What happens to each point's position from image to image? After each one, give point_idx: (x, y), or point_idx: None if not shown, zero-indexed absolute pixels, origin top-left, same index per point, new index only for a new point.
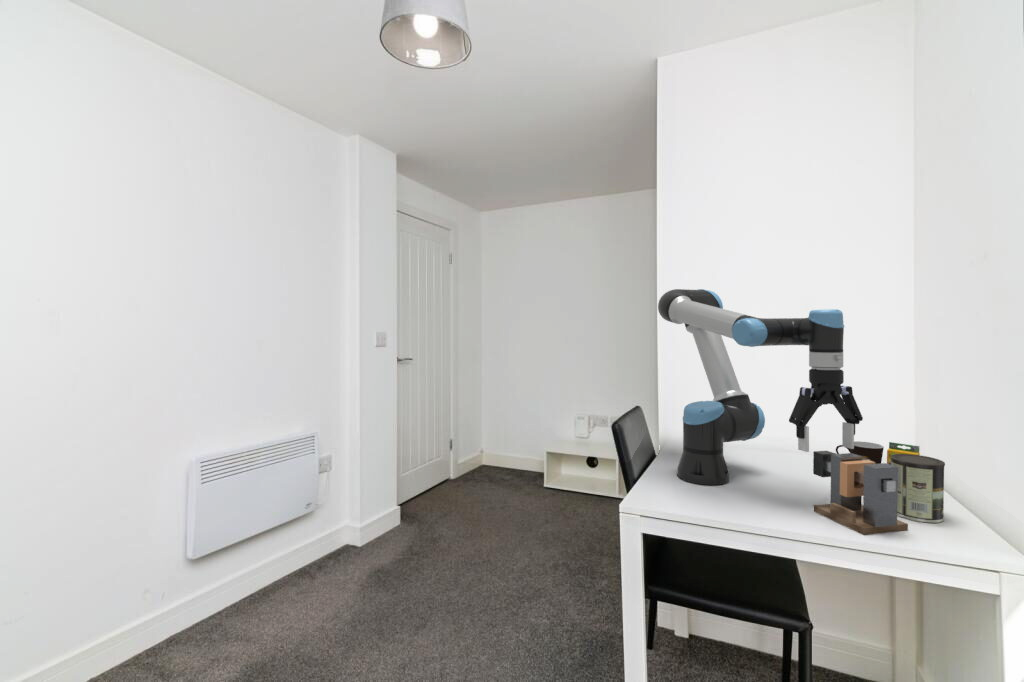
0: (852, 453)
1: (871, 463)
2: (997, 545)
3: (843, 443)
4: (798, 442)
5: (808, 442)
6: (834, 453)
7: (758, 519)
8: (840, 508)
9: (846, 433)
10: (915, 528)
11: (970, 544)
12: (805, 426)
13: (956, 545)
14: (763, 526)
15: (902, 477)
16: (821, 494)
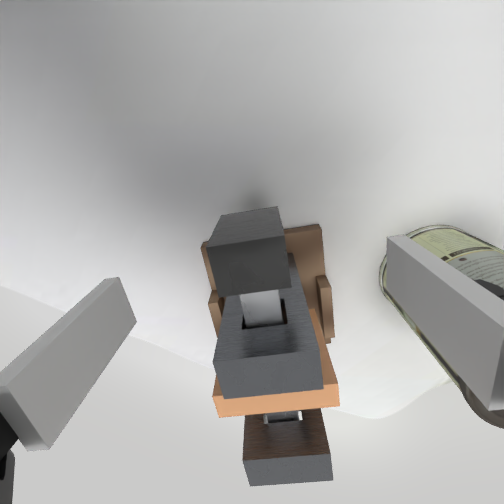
0: (319, 354)
1: (322, 403)
2: (420, 384)
3: (396, 250)
4: (83, 300)
5: (111, 355)
6: (285, 284)
7: (59, 278)
8: (214, 325)
9: (432, 307)
10: (351, 327)
11: (380, 379)
12: (25, 441)
13: (353, 381)
14: (61, 308)
15: (431, 344)
16: (307, 117)
